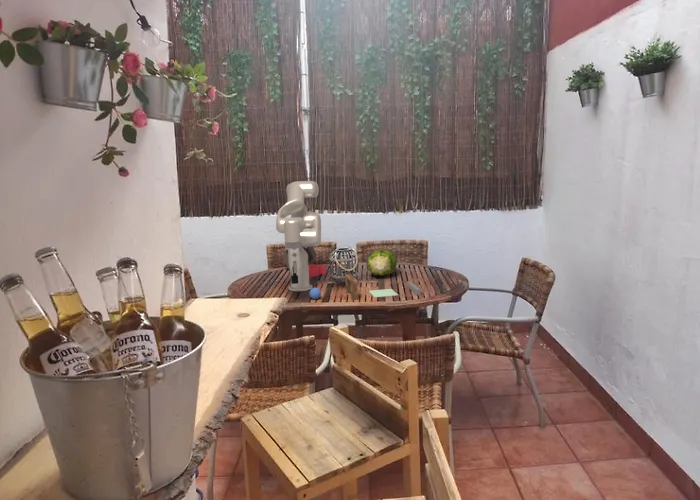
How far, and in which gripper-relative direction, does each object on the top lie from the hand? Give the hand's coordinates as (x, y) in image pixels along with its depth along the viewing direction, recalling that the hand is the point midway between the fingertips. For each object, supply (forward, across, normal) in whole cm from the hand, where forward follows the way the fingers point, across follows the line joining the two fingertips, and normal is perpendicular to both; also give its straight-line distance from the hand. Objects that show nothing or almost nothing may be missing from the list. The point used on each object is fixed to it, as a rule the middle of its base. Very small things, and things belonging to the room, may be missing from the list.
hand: (294, 283), depth 253 cm
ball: (+6, +1, -10) cm, 11 cm away
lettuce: (+8, +34, -52) cm, 62 cm away
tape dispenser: (+8, +52, -16) cm, 55 cm away
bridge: (+9, +1, -28) cm, 29 cm away
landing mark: (+9, +1, -44) cm, 45 cm away
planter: (+7, +68, -10) cm, 69 cm away
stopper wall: (+8, +1, -60) cm, 60 cm away
